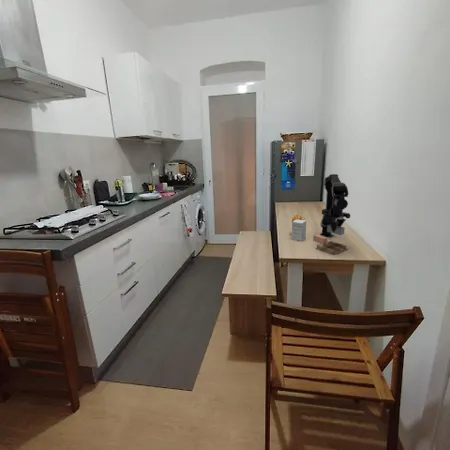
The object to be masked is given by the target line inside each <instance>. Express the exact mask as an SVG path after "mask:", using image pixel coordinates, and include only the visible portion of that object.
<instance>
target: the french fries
mask: <svg viewBox="0 0 450 450" xmlns="http://www.w3.org/2000/svg"><path fill="white" fill-rule="evenodd" d="M296 219H297V220H305V221H306V217H304V216H302V214H298V213H297V214H295V215H293V216H292V217H291V223H292V222H293V221H294V220H296Z"/></svg>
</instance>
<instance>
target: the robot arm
mask: <svg viewBox="0 0 450 450" xmlns="http://www.w3.org/2000/svg"><path fill="white" fill-rule="evenodd" d="M323 187H324V189H325V191H326V198H325V208H323V209H321V214H322V218H321V219H320V220H321V221H320V228H322V229H321V233H320V234H319V235H321V236H324V237H327V238H329V237H333V236H334V233H330V232H327V226H328V225H331V228H332V231H333V232H335V230H336V227H337V226H340V227H343V224H344V223H345V222H346V220H347V219H350V218H351V214H350V213H348V212H346V211H345V212H344V210H345V209H346V208H347V207H348V206H349V205H348V204H349V203H348V201H347V199H345V198H348V196H349V190H348V189H349V188H348V186H347V185H346V183H345V182H342V181H341V180H340V177H339V174H337V173H336V174H335V173H334V174H333V173H332V174H329V175H328V176H326V177H325V178H324V180H323Z"/></svg>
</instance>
